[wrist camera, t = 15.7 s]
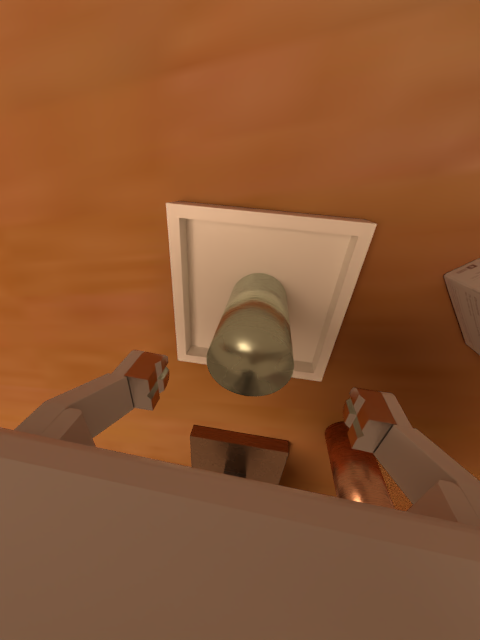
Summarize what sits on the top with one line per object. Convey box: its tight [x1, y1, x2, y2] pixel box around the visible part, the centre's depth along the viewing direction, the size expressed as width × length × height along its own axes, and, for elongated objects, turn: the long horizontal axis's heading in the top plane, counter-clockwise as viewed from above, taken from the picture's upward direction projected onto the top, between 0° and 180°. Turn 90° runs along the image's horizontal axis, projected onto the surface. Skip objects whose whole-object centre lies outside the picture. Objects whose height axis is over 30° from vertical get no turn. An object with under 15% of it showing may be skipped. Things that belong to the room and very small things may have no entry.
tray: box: [166, 201, 377, 381], centre depth 19 cm, size 13×13×2 cm
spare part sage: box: [207, 273, 294, 396], centre depth 15 cm, size 4×4×8 cm
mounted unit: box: [190, 425, 289, 485], centre depth 25 cm, size 12×16×20 cm
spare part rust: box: [325, 421, 395, 509], centre depth 23 cm, size 4×4×8 cm
